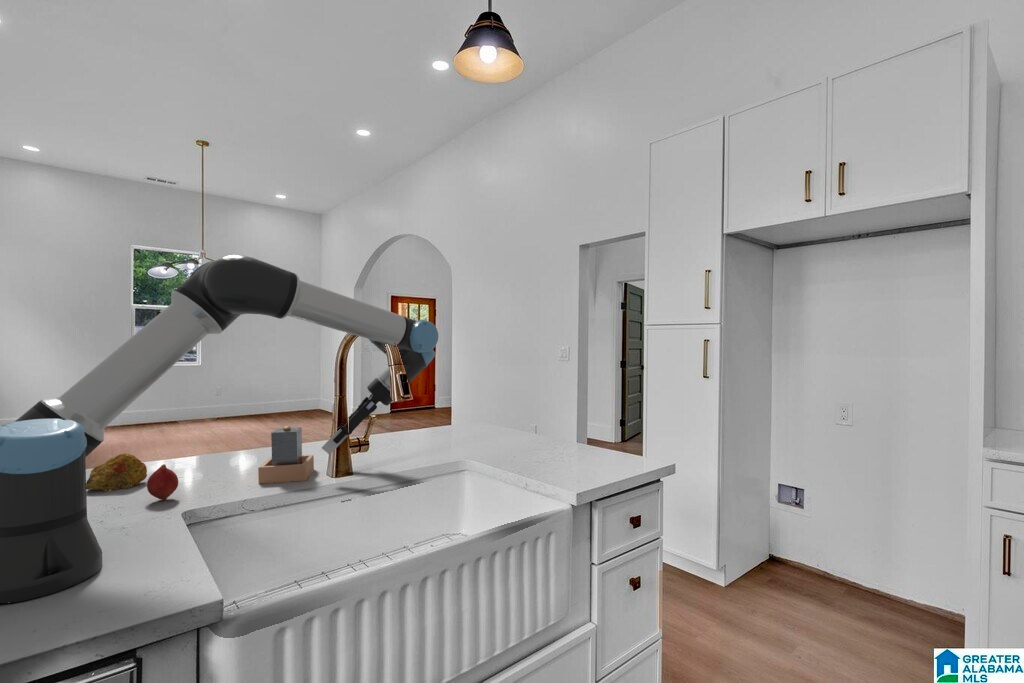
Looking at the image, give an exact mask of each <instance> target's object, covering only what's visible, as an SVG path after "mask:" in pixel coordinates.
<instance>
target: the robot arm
mask: <svg viewBox="0 0 1024 683" xmlns="http://www.w3.org/2000/svg"><path fill="white" fill-rule="evenodd" d="M170 296H171V301H170V304H169V305H168V306H167V307H166V308H165V309H163V310H162V311H161V312H160V313H158V314H157V315H156V316H155V317H154V318H152V319H151V320H150V321H149V322H148V323H146V324H145V325H144V326H143V327H142V328H140V329H139V330H138V331H137V332H135V333H134V335H132V336H131V337H130V338H128V339H127V340H126V341H125V342H124V343H123V344H122V345H120V346H119V347H118V348H116V350H114V351H113V352H112V353H110V355H108V356H107V357H105V359H103V360H102V361H101V362H100V363H99V364H97V365H96V366H95V367H94V368H93V369H91V370H90V371H89V372H88V373H87V374H86V375H84V376H83V377H82V378H81V379H79V381H77V382H75V384H73V385H72V386H71V387H70V388H69V389H67V390H66V391H65V392H64V393H63V394H61V395H60V396H59V397H53V398H43V399H40V400H39V401H38V402H37V403H36V404H34V405H33V406H32V407H30V408H29V409H28V410H27V411H26V412H24V413H23V414H22V415H20V416H19V418H17V419H15V420H14V421H12V422H9V423H8V422H7V423H4V424H2V425H0V603H7V604H9V603H8V602H13V603H17V602H18V603H19V602H24V601H27V600H33V599H36V598H40V597H45V596H48V595H50V594H54V593H57V592H60V591H63V590H65V589H68V588H71V587H73V586H76V585H78V584H79V583H82V582H84V581H86V580H88V579H90V578H91V577H93V576H94V575H96V574H97V573H98V572H100V570H101V568H102V567H103V551H102V548H101V546H100V544H99V543H100V542H99V541H98V540H97V537H96V535H95V533H94V531H93V528H92V527H91V524H90V522H89V520H88V508H87V507H88V505H87V504H88V502H87V501H88V500H87V489H86V483H87V470H86V469H87V467H86V466H87V463H86V462H87V461H86V458H87V457H88V456H89V455H90V454H91V453H92V452H93V451H94V450H95V449H96V448H97V447H99V446H100V445H101V444H102V443H103V442H104V440H105V428H106V427H108V425H109V424H110V423H112V422H113V421H114V420H116V418H117V417H118V416H119V415H120V414H122V413H123V412H124V411H125V410H126V409H128V407H129V406H130V405H131V404H133V402H135V401H136V400H137V399H139V397H140V396H142V394H144V393H145V392H146V391H147V390H148V389H149V388H150V387H151V386H152V385H154V384H155V383H156V382H157V381H158V380H159V379H160V378H161V377H162V376H163V375H164V374H165V373H167V372H168V371H169V370H170V369H171V368H172V367H174V365H175V364H176V363H178V362H179V361H180V360H181V359H182V358H183V357H185V355H187V353H189V352H191V350H192V349H193V348H194V347H195V346H197V344H199V343H200V342H201V341H202V340H203V339H204V338H205V337H206V336H208V335H213V334H214V335H215V334H217V335H218V334H221V333H222V332H223V331H225V330H226V329H227V328H228V327H229V326H230V325H232V323H234V322H235V320H237V319H238V318H239V317H240V316H241V315H247V314H248V315H262V316H267V317H272V318H276V319H279V320H282V319H285V318H286V317H290V318H294V319H298V320H301V321H305V322H308V323H312V324H316V325H319V326H322V327H326V328H328V329H329V328H330V329H334V330H336V331H339V332H343V333H347V334H349V335H354V336H358V337H361V338H363V339H367V340H368V341H369V342H370V343H371V344H373V345H374V346H375V347H376V348H378V350H380V351H381V352H382V353H383V354H384V355H386V351H385V348H384V346H385V344H388V345H391V346H394V347H396V345H397V347H398V349H399V352H400V355H401V359H402V362H403V365H404V367H405V371H406V374H407V378H408V382H409V384H410V383H411V382H413V380H414V379H415V378H416V377H417V376H418V375H419V374H420V373H421V372H422V371H423V370H424V369H426V368H427V367H428V366H429V364H430V363H431V362H432V361H433V359H434V358H435V356H436V352H435V350H434V348H435V347H436V346H437V344H438V342H439V331H438V328H437V326H436V325H435V324H434V323H433V322H432V321H429V320H424V319H419V320H417V319H416V320H415V319H412V318H411V317H407V316H403V315H401V314H399V313H395V312H392V311H389V310H387V309H384V308H381V307H377V306H376V305H375V306H374V305H372V304H369V303H366V302H364V301H360V300H357V299H355V298H352V297H348V296H346V295H343V294H340V293H337V292H334V291H331V290H329V289H326V288H322V287H320V286H317V285H314V284H312V283H308V282H306V281H303V280H300V277H299V276H298V274H297V273H295V272H291V271H289V270H287V269H284V268H281V267H280V266H276V265H273V264H271V263H268V262H266V261H263V260H260V259H257V258H255V257H251V256H247V255H240V254H232V255H226V256H223V257H220V258H218V259H215V260H212V261H207V262H205V263H203V264H201V265H200V266H198V267H196V268H195V269H194V270H193V271H192V273H191V274H190V275H189V277H188V278H187V279H186V280H185V281H184V282H182V283H181V284H180V285H179V286H178V287H176V288H175V289H174V290H173V291H172V292H171V295H170ZM394 342H395V343H396V345H395V344H394ZM382 343H383V344H384V346H383V344H382ZM385 347H386V346H385ZM367 390H368V392H369V393H371V394H369V395H370V396H369V397H368V396H365V397H364V399H363V400H362V401H361V403H360V404H359V405H358V407H357V408H356V410H354V411H353V413H351V414H350V415H349V416H348V417H347V419H348V418H349V433H348V422H347V423H346V424H345V425H344V426H342V425H341V424H340V425H339V426H338V428H340V429H339V430H338V431H337V432H336V433H335V434H334V435H333V436H332V437H331V435H330V436H329V439H328V440H327V441H326V442H325V443H324V444H323V446H321V449H322V450H323V451H324V452H326V453H327V454H328V455H329V456H330V455H332V453H333V452H335V450H336V449H337V448H338V447H339V446H340V445H341V444H342V443H343V442H344V441H345V440H346V439H347V437H349V436H351V434H352V433H353V432H354V431H355V429H356V428H358V426H359V425H360V424H361V423H362V422H363V421H364V420H365V419H367V418H368V417H369V416H370V415H371V414H372V413H373V412H375V411H376V410H377V408H378V406H377V404H378V403H379V402H380V403H382V405H384V406H386V407H388V406H389V405H390V404H392V402H394V400H392V399H391V397H390V375H389V367H388V365H387V366H385V367H384V369H383V370H382V371H380V373H379V374H378V377H376V378H374V379H373V380H372V381H371V382H370V383H369V384H368V385H367Z"/></svg>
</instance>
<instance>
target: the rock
mask: <svg viewBox="0 0 1024 683" xmlns="http://www.w3.org/2000/svg"><path fill="white" fill-rule="evenodd" d="M147 473H148V467H147V465H146V463H144V462H142V460H140V459H139V458H137V457H136V456H135V455H133V454H130V453H128V452H125V453H120V454H118V455H115V456H114V457H111V458H109V459H107V461H106V462H105V463H102V464H100V465H96V466H95V467H93V469H91V471H90V473H89V476H88V479H86V490H95V491H96V490H98V491H99V490H102V491H104V492H110V491H109V490H112V491H114V490H119V489H123V488H126V489H129V488H128V487H130V488H133V487H134V485H135V486H138V485H139V484H140V483H142V482H143V481H144V480H146V478H147V476H148V475H147Z"/></svg>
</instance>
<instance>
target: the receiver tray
mask: <svg viewBox="0 0 1024 683" xmlns="http://www.w3.org/2000/svg"><path fill="white" fill-rule="evenodd" d="M314 458H315V457H314V454H305V455H303V454H302V464H295V465H278V466H272V456H270V457H268V458H267V459H266V460H265V461H264V462H263V463H261V465H259V466H258V471H257V472H258V474H257V476H258V484H259V483H263V484H277V483H278V482H279V483H291V482H290V481H294V482H305V481H307V480H308V479H309V477H310V476H311V474H312V473H313V471H314V470H315V466H314V464H315V462H314V461H315V459H314ZM307 478H308V479H307ZM274 482H275V483H274Z"/></svg>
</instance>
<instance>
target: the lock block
mask: <svg viewBox="0 0 1024 683" xmlns="http://www.w3.org/2000/svg"><path fill="white" fill-rule="evenodd" d="M270 436H271V437H270V438H271V457H272V466H278V465H295V464H302V455H303V442H302V440H303V439H302V438H303V437H302V436H303V434H302V427H301V426H300V427H291V426H290V425H289V426H288V425H287V426H283V427H281V428H275V430H273V431H272V432H271V433H270Z"/></svg>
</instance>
